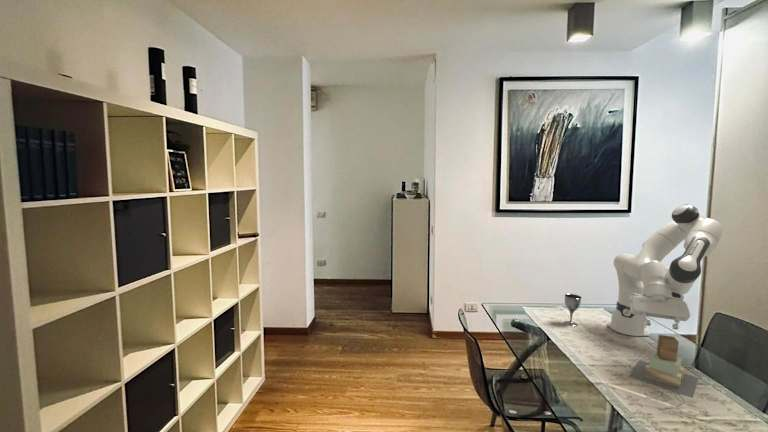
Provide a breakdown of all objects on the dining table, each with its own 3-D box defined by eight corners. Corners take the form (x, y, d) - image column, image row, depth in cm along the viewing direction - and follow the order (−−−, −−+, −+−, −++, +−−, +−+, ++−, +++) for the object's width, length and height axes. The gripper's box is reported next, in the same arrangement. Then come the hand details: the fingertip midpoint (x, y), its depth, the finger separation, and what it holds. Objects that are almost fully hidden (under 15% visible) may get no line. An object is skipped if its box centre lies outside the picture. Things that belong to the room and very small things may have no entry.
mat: (639, 361, 169) (639, 360, 169) (698, 379, 156) (698, 377, 156) (628, 378, 155) (628, 376, 155) (692, 399, 141) (692, 397, 141)
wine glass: (580, 327, 207) (583, 299, 205) (564, 325, 208) (566, 297, 206) (576, 321, 214) (579, 294, 213) (560, 319, 216) (563, 293, 214)
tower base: (649, 367, 163) (651, 358, 162) (683, 377, 155) (684, 367, 155) (644, 376, 155) (645, 367, 154) (679, 387, 147) (680, 377, 147)
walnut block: (656, 354, 157) (658, 334, 156) (671, 356, 156) (673, 336, 155) (661, 359, 153) (663, 339, 152) (676, 361, 151) (678, 341, 150)
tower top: (653, 359, 161) (654, 350, 161) (680, 367, 155) (681, 358, 154) (649, 367, 155) (650, 357, 154) (677, 375, 148) (678, 365, 148)
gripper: (630, 289, 166) (633, 319, 158) (687, 295, 160) (695, 327, 152) (626, 296, 171) (629, 326, 163) (682, 303, 165) (688, 334, 157)
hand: (661, 326), depth 157 cm, fingers open, 8 cm apart
